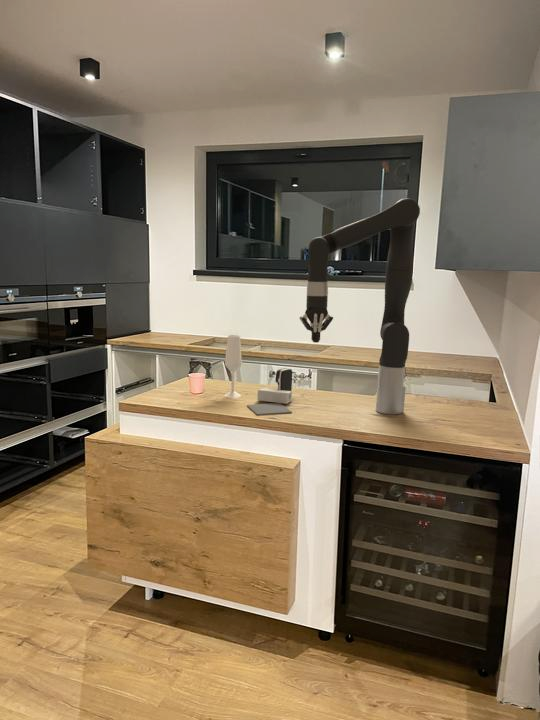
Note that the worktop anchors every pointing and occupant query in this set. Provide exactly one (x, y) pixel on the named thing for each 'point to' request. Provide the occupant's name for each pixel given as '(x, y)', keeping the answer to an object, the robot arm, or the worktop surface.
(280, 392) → the skincare box
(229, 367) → the champagne flute
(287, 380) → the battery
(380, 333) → the robot arm
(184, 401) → the worktop surface
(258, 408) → the mat
